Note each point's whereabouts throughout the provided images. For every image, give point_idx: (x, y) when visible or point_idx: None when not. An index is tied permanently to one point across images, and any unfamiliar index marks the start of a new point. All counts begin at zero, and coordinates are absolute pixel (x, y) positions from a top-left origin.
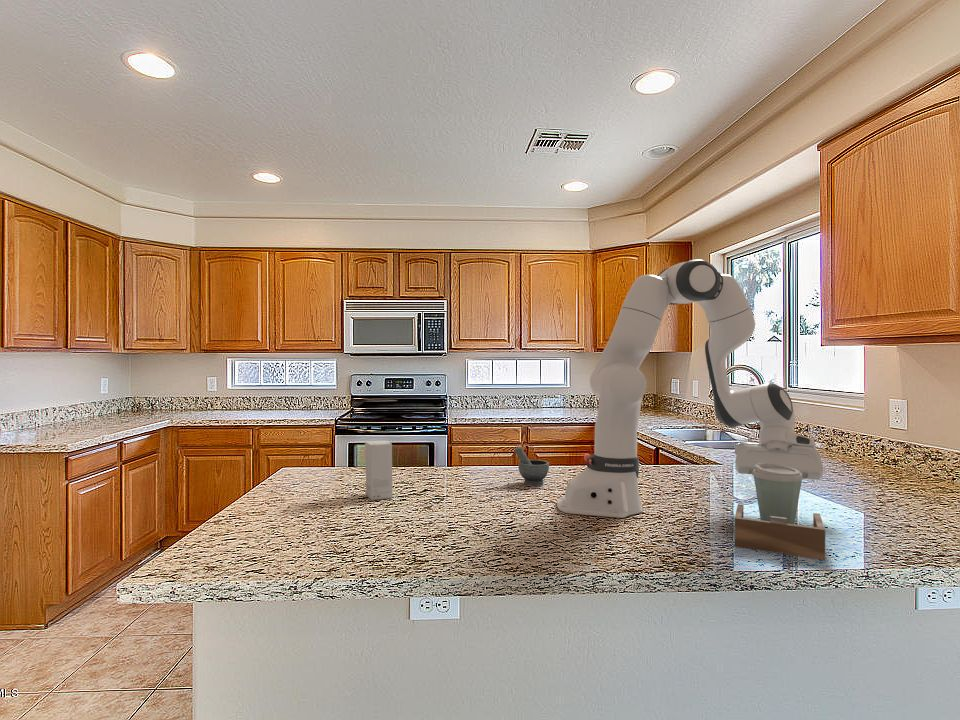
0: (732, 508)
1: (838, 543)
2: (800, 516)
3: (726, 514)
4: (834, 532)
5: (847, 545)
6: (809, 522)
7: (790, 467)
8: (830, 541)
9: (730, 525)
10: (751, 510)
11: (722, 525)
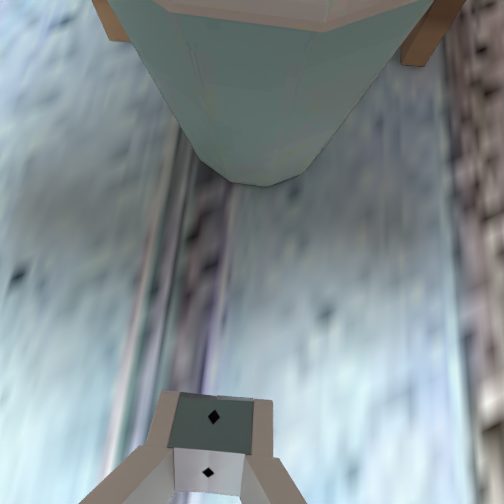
0: (474, 488)
1: (41, 38)
2: (98, 463)
3: (493, 319)
4: (5, 196)
5: (14, 26)
6: (78, 339)
7: None
8: (66, 52)
9: (457, 119)
10: (365, 487)
11: (490, 104)
